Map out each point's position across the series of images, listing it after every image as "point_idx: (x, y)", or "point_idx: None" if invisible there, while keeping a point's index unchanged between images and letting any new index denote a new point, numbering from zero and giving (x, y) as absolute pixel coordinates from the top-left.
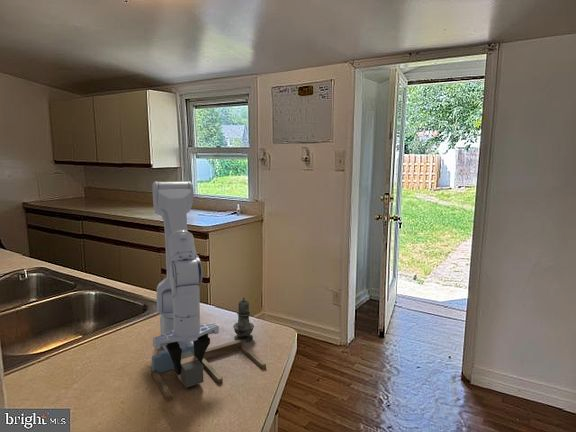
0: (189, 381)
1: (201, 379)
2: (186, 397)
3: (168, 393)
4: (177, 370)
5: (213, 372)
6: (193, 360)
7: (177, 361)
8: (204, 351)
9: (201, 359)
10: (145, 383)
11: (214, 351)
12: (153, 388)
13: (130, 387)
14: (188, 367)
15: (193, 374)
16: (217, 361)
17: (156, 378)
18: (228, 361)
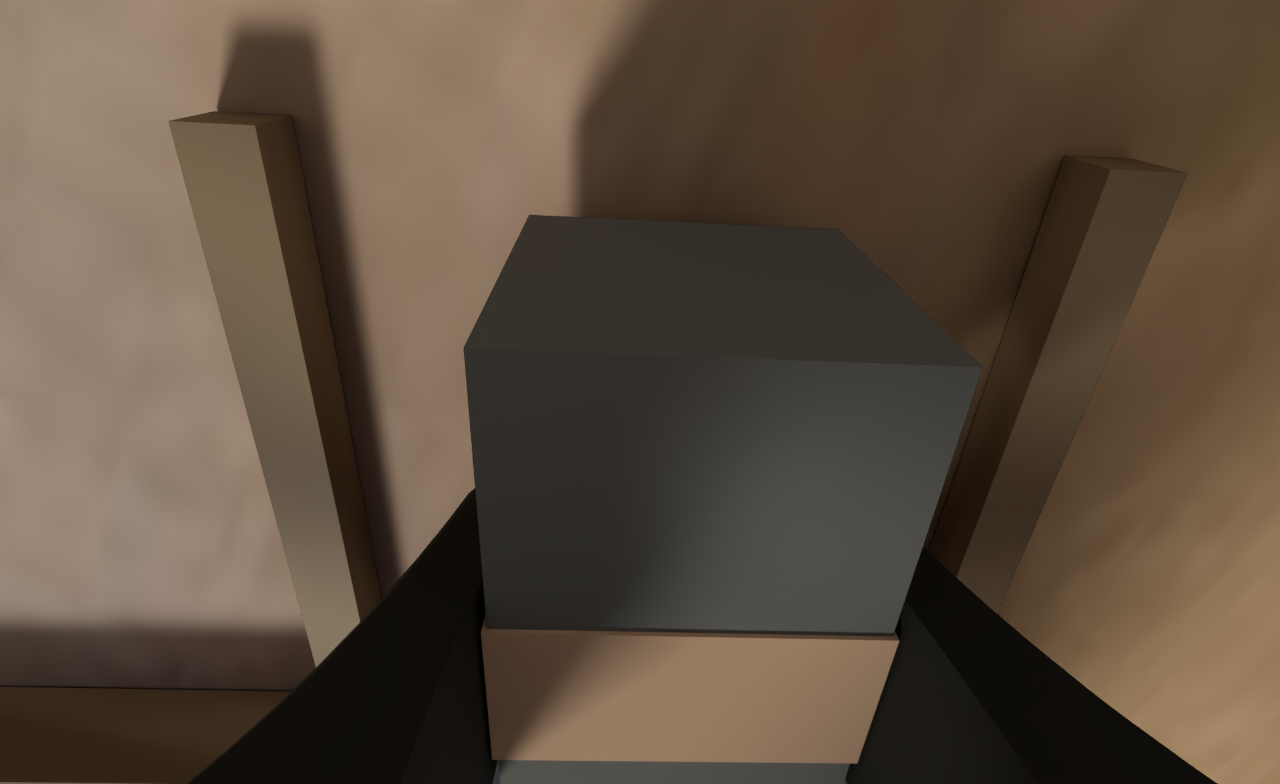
0: (799, 252)
1: (557, 235)
2: (888, 68)
3: (1122, 241)
4: (924, 554)
5: (288, 371)
6: (594, 638)
7: (1082, 715)
8: (229, 776)
9: (411, 595)
10: (1054, 619)
11: (156, 754)
12: (1060, 507)
13: (1197, 630)
14: (831, 461)
15: (731, 294)
16: (182, 604)
17: None
18: (31, 544)
